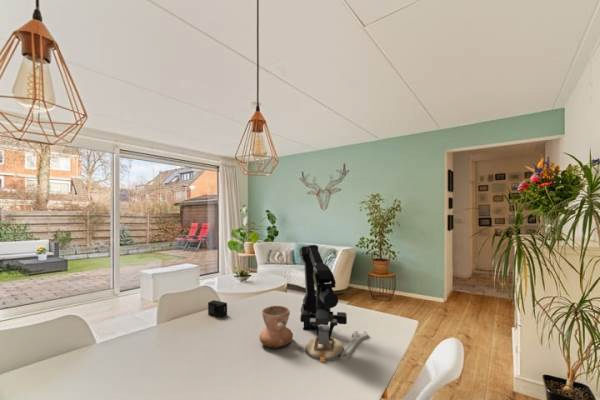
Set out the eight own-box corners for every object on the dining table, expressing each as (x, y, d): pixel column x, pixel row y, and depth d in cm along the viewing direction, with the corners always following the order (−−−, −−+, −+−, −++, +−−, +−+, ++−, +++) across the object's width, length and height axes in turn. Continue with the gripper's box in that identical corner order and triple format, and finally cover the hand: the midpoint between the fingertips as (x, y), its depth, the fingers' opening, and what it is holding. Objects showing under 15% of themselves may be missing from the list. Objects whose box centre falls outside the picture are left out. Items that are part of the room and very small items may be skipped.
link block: (318, 344, 110) (318, 331, 110) (320, 337, 115) (319, 325, 116) (328, 344, 109) (328, 331, 109) (329, 337, 115) (329, 325, 115)
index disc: (304, 357, 106) (303, 340, 106) (308, 339, 120) (307, 324, 121) (343, 359, 104) (342, 342, 104) (342, 341, 118) (342, 325, 119)
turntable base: (301, 360, 104) (301, 355, 104) (307, 339, 121) (307, 335, 121) (343, 363, 102) (343, 358, 102) (344, 342, 119) (344, 337, 119)
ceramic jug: (297, 349, 113) (297, 314, 114) (262, 355, 109) (262, 318, 110) (286, 332, 130) (286, 301, 131) (256, 336, 126) (256, 305, 127)
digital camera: (206, 315, 153) (206, 302, 153) (213, 312, 157) (213, 300, 158) (220, 318, 148) (219, 305, 148) (227, 315, 152) (227, 302, 153)
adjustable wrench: (346, 361, 104) (345, 356, 104) (331, 356, 108) (331, 352, 108) (369, 336, 125) (369, 332, 125) (356, 332, 128) (356, 328, 129)
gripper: (297, 305, 107) (298, 346, 106) (346, 307, 103) (347, 349, 103) (302, 296, 118) (302, 333, 117) (346, 298, 114) (347, 336, 114)
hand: (324, 338), depth 112 cm, fingers closed on link block, 4 cm apart
